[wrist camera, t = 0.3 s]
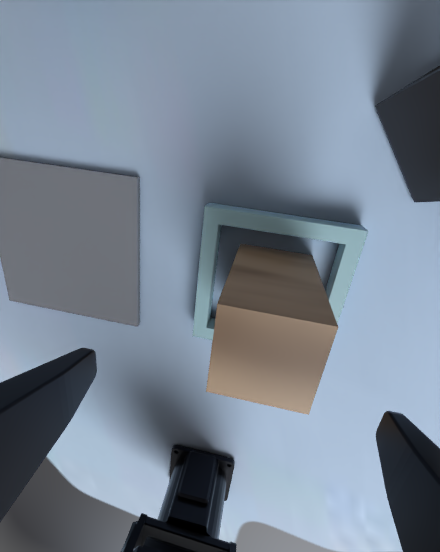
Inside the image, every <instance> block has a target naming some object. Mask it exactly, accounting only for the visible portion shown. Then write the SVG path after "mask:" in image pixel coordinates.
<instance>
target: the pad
mask: <svg viewBox="0 0 440 552" xmlns="http://www.w3.org/2000/svg"><path fill="white" fill-rule="evenodd" d="M0 257H1V262H2V267H3V271H4V276H5V281H6V286H7V290H8V295H9V300H10V301H15V302H20V303H25V304H29V305H34V306H39V307H44V308H49V309H54V310H59V311H64V312H68V313H73V314H78V315H83V316H88V317H93V318H98V319H103V320H108V321H112V322H117V323H122V324H127V325H132V326H137V327H138V325H139V323H140V177H135V176H128V175H121V174H114V173H107V172H100V171H93V170H86V169H79V168H72V167H65V166H58V165H51V164H44V163H37V162H30V161H23V160H16V159H9V158H2V157H0Z"/></svg>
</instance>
